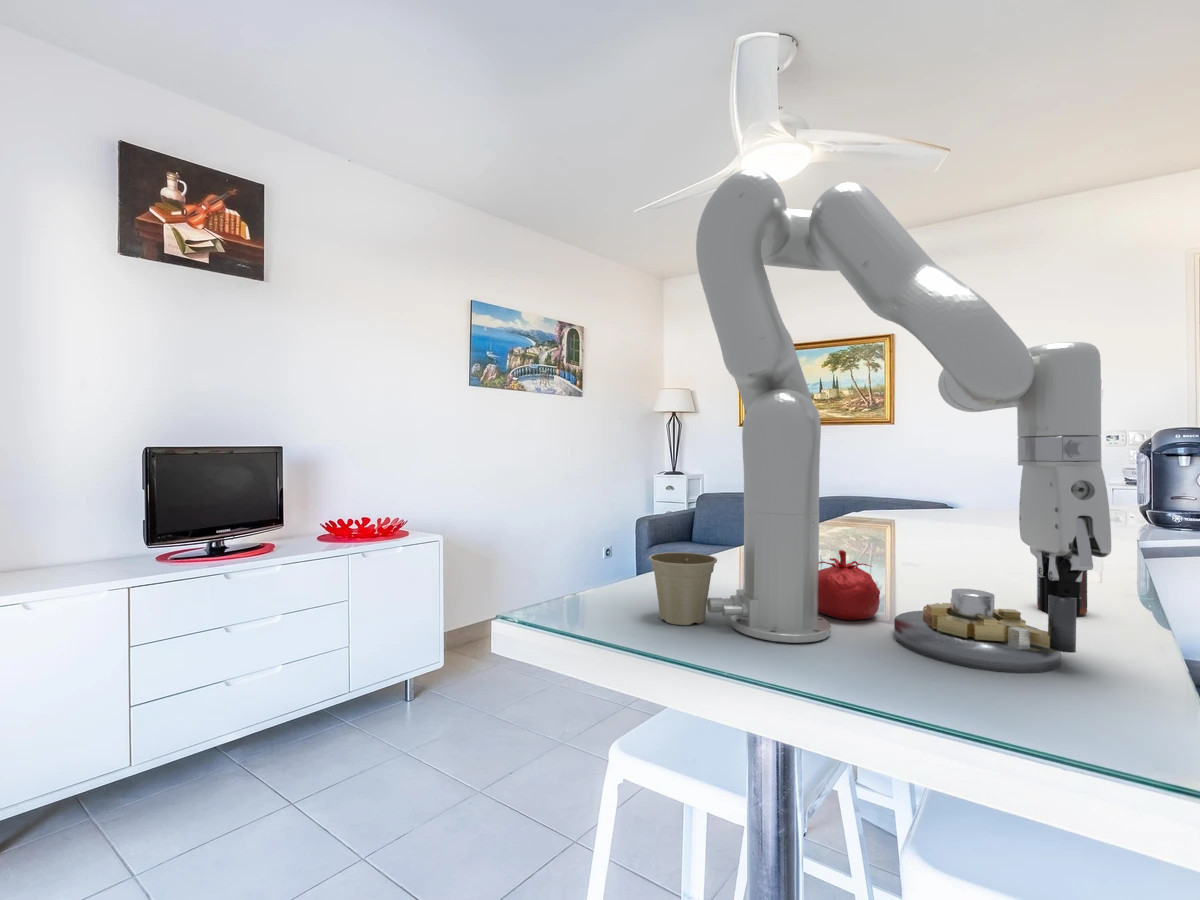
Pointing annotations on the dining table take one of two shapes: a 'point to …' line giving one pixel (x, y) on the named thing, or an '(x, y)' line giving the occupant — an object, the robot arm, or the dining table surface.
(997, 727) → the dining table surface
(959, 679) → the dining table surface
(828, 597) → the pomegranate
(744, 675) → the dining table surface
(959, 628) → the gold segmented ring
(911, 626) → the dark oval platter
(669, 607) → the flower pot
